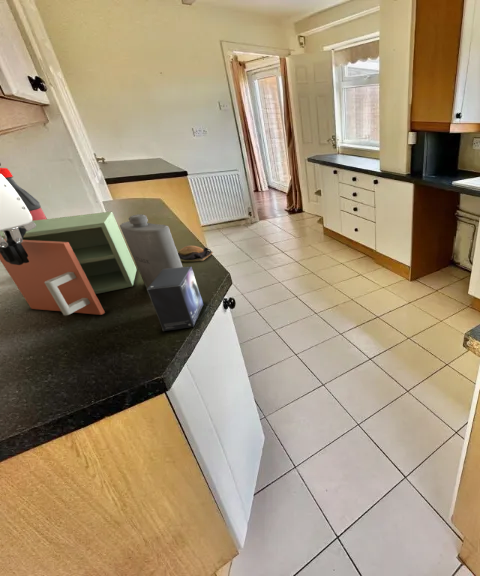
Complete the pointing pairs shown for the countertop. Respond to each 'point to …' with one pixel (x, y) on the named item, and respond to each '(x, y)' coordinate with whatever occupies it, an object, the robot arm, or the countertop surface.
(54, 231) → the cupboard
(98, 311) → the door
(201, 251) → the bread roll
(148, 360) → the countertop surface
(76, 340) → the countertop surface
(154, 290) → the small box
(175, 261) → the flask
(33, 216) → the cola bottle
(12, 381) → the countertop surface
